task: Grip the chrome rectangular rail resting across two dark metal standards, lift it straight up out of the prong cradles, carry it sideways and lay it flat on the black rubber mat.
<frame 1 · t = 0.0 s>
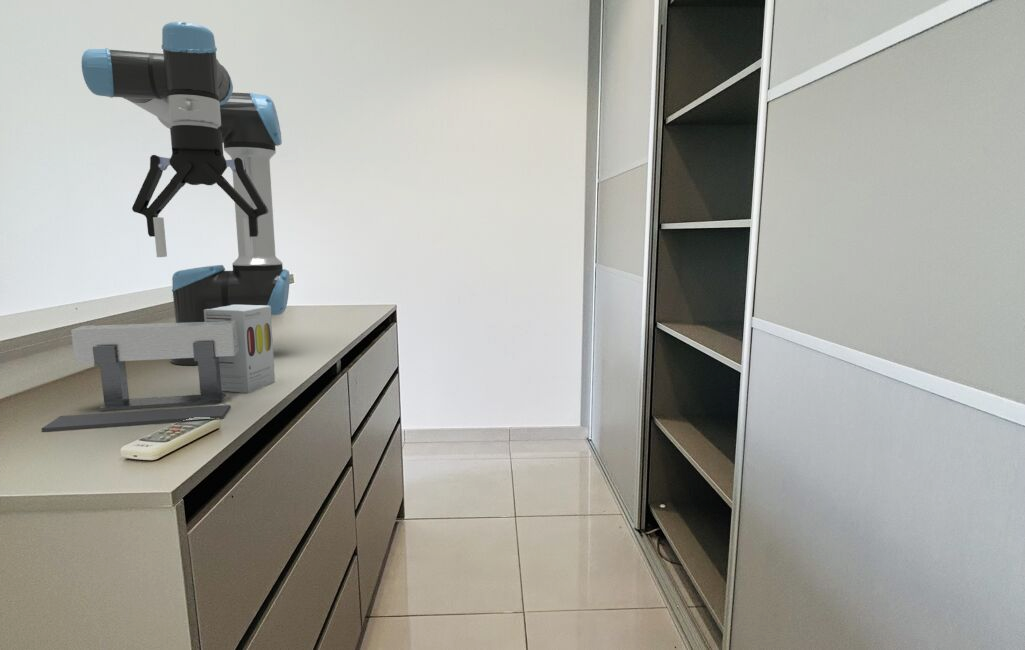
hand: (206, 256, 99), 28 cm above the table, fingers open, 13 cm apart
supplement box: (243, 387, 122), on the table
mat: (142, 419, 101), on the table
standards: (165, 403, 110), on the table
rail: (161, 356, 108), point 9 cm above the table, touching standards
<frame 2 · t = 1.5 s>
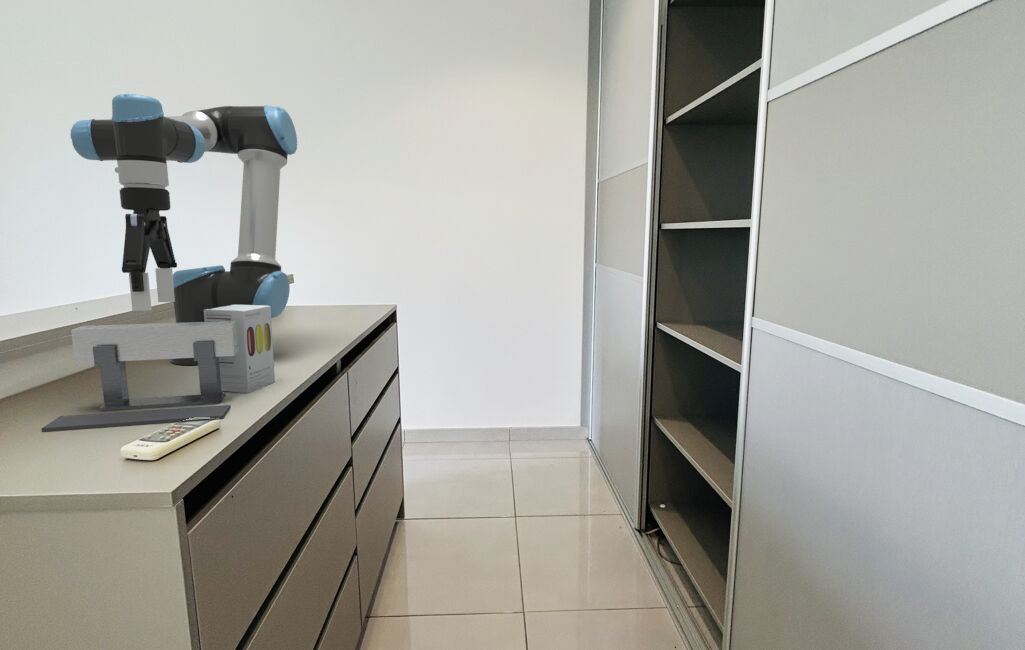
hand: (155, 306, 107), 19 cm above the table, fingers open, 13 cm apart
nothing on the table moved.
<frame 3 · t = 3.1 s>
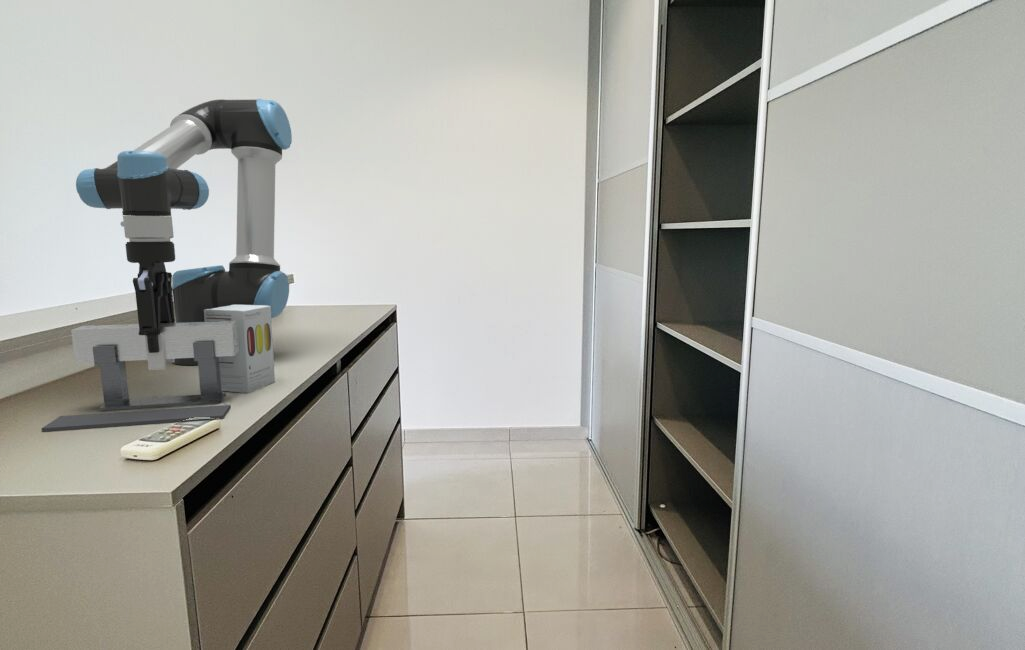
hand: (161, 365, 109), 7 cm above the table, fingers closed on rail, 4 cm apart
rail: (161, 356, 109), point 9 cm above the table, touching gripper, standards
everything else where it was.
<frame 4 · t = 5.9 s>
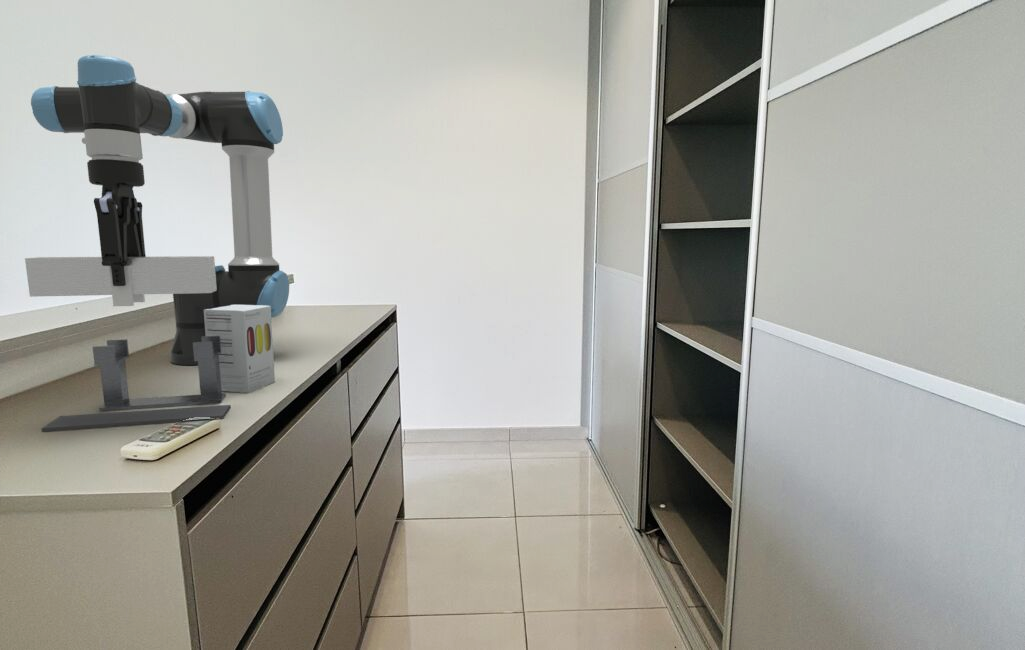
hand: (129, 303, 97), 20 cm above the table, fingers closed on rail, 4 cm apart
rail: (128, 293, 97), point 22 cm above the table, touching gripper
everything else where it was.
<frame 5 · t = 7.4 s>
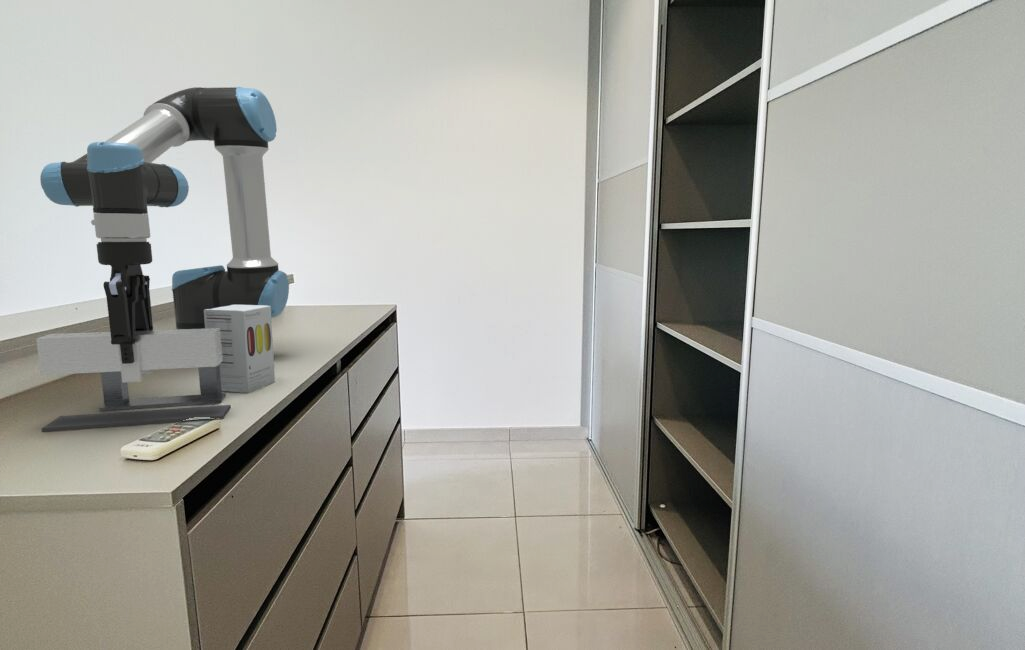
hand: (137, 377, 100), 7 cm above the table, fingers closed on rail, 4 cm apart
rail: (136, 367, 99), point 9 cm above the table, touching gripper
everything else where it was.
when the fingers open (2 cm above the table, at t = 8.8 s): rail drops 3 cm, resting on mat.
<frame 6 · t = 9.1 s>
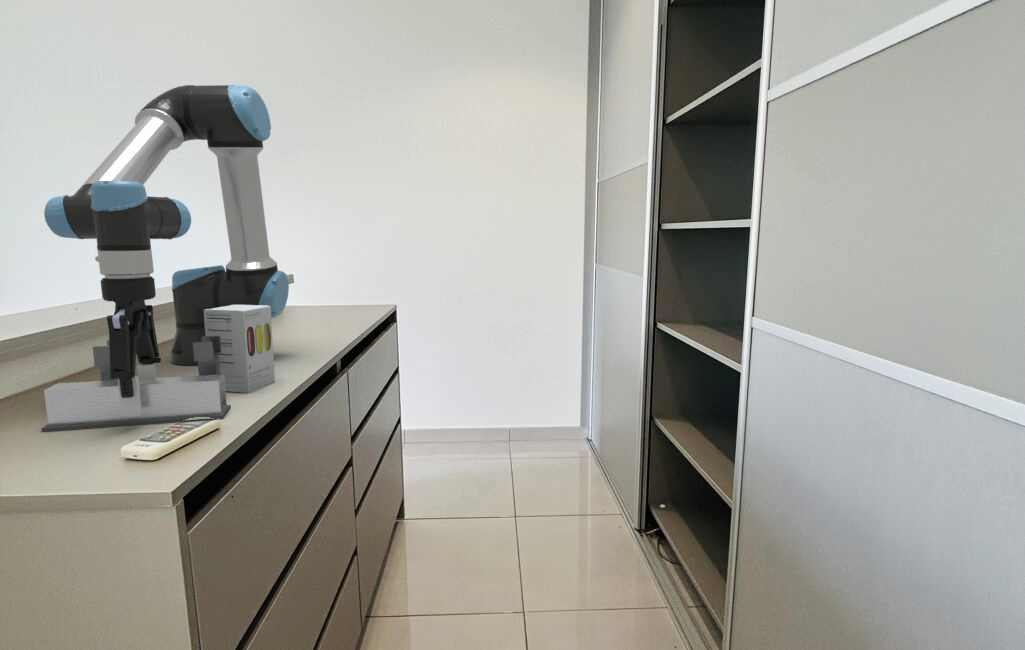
hand: (141, 407, 101), 2 cm above the table, fingers open, 8 cm apart
rail: (142, 415, 101), point 1 cm above the table, touching mat
everything else where it was.
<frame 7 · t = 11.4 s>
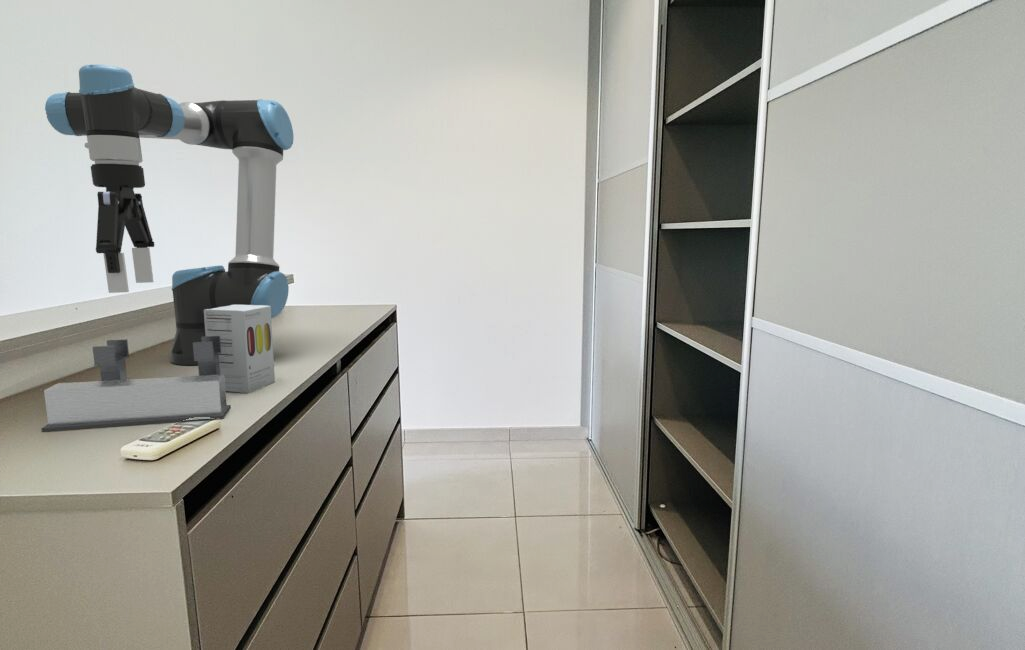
hand: (132, 287, 103), 22 cm above the table, fingers open, 13 cm apart
nothing on the table moved.
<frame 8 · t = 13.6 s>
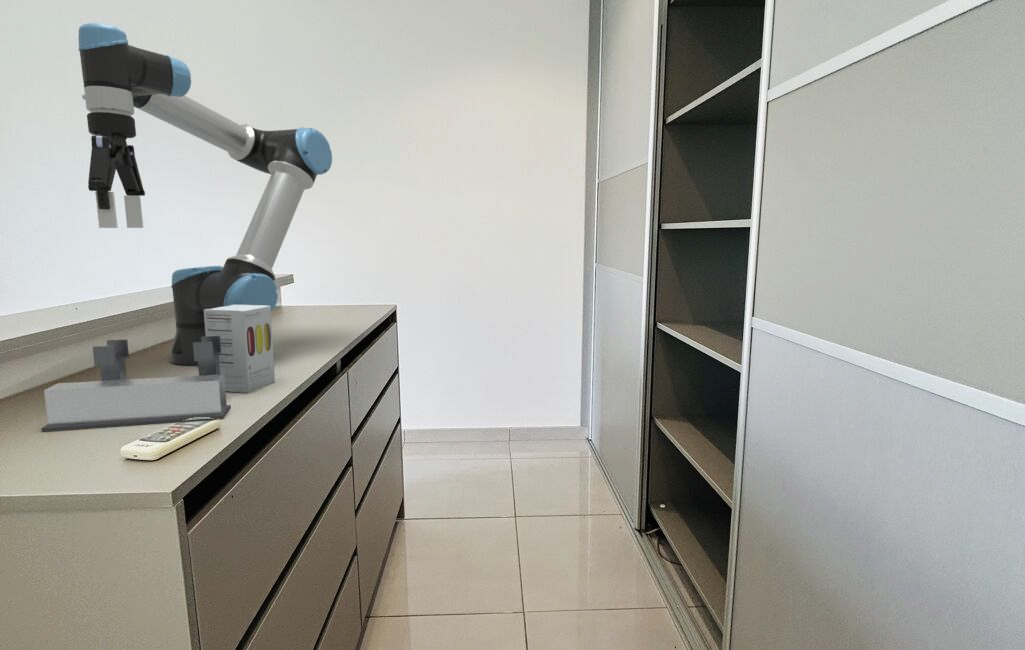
hand: (122, 228, 114), 33 cm above the table, fingers open, 13 cm apart
nothing on the table moved.
at the end: rail inside the target area (0.1 cm from its centre), point 0.6 cm above the table; rail tilted 0°; rail touching mat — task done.
